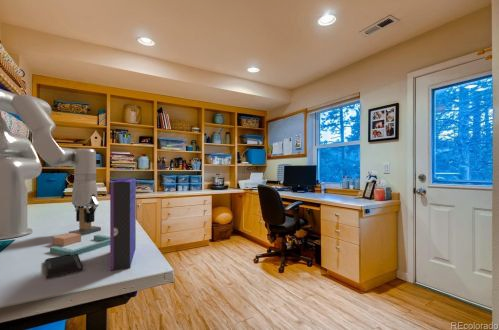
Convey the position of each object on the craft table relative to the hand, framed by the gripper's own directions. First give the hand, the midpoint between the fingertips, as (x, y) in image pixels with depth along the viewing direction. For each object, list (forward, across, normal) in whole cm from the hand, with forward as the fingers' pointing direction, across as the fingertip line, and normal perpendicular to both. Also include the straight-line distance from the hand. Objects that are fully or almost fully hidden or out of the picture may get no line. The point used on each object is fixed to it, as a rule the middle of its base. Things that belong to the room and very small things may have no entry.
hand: (85, 221), depth 101 cm
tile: (+5, +7, -11) cm, 14 cm away
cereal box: (+5, +39, -13) cm, 41 cm away
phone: (+6, +28, -24) cm, 37 cm away
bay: (+5, +17, -11) cm, 21 cm away
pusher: (+5, 0, 0) cm, 5 cm away
